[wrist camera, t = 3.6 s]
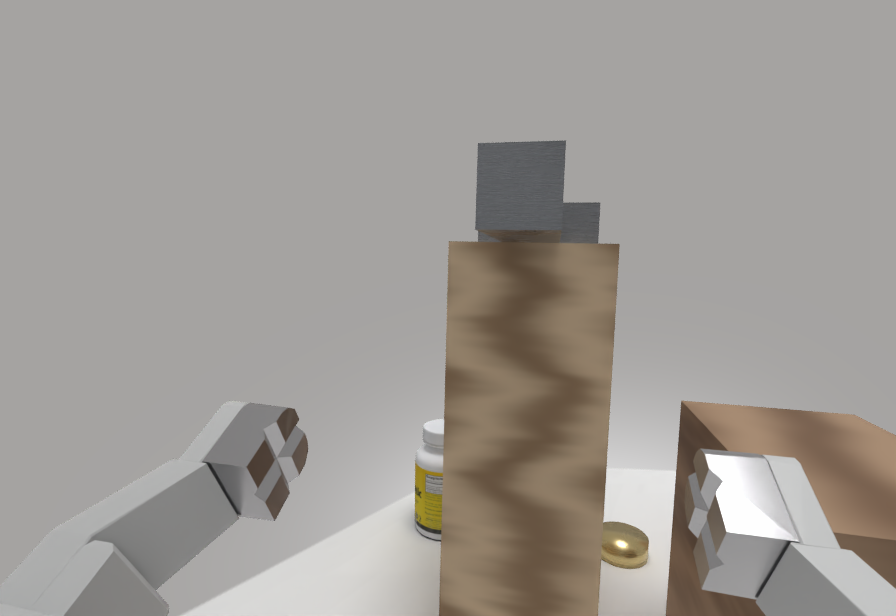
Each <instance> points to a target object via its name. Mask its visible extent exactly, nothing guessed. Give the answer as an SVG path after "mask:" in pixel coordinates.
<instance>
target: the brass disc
mask: <svg viewBox="0 0 896 616" xmlns="http://www.w3.org/2000/svg"><path fill="white" fill-rule="evenodd" d="M648 544H649V540H648V537H647V536H646V535H645V534H644V533H643V532H642V531H641V530H639V529H638V528H636V527H634V526H631V525H628V524H625V523H620V522H604V523H603V534H602V551H601V559H602V560H603V561H605V562H607V563H609V564H611V565H613V566H616V567H620V568H626V569H635V568H640V567H642V566H644V565H645V564H646V563H647V559H648Z"/></svg>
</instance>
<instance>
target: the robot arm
mask: <svg viewBox="0 0 896 616" xmlns="http://www.w3.org/2000/svg"><path fill="white" fill-rule="evenodd" d="M298 421H299V418H298V416H297V413H296V411H295V409H292V408H285V407H278V406H271V405H263V404H254V403H246V402H237V401H229V402H227V403H225V404H223V405H222V406H221V407H220V409H219V410H218V411H217V412H216V414H215V415H214V416H213V417H212V419H211V420H210V421H209V423H208V424H207V425H206V426H205V427H204V429H203V430H202V431H201V432H200V434H199V435H198V436H197V438H196V439H195V440H194V441H193V442H192V444H191V445H190V446H189V448H188V449H187V450H186V451H185V452H184V454H183V455H182V456H181V457H180V459H172V460H170V461H168V462H166V463H165V464H163V465H161V466H160V467H158V468H156V469H154V470H153V471H151V472H149V473H148V474H146V475H144V476H143V477H141V478H139V479H138V480H136V481H134V482H132V483H131V484H129V485H127V486H126V487H124V488H122V489H120V490H119V491H117V492H115V493H114V494H112V495H110V496H108V497H107V498H105V499H103V500H102V501H100V502H98V503H97V504H95V505H93V506H91V507H90V508H88V509H86V510H85V511H83V512H81V513H79V514H78V515H76V516H75V517H73V518H71V519H69V520H68V521H66V522H64V523H63V524H61V525H59V526H57V527H56V528H54V529H52V530H51V531H50V532H49V533H48V535H47V536H46V537H45V538H44V539H43V540H42V541H41V542H40V543H39V544H38V545H37V547H36V548H35V549H34V550H33V551H32V552H31V553H30V554H29V555H28V556H27V557H26V558H25V559H24V560H23V562H22V563H21V564H20V565H19V566H18V567H17V568H16V569H15V570H14V571H13V572H12V573H11V575H10V576H9V577H8V578H7V579H6V580H5V581H4V582H3V583H2V584H1V585H0V616H167V615H168V613H169V605H168V604H167V602H166V601H164V599H163V598H162V597H161V596H160V595H159V594H158V593H157V591H156V590H157V589H158V588H159V587H160V586H161V585H162V584H164V583H165V582H166V581H167V580H168V579H169V578H171V577H172V576H173V575H174V574H175V573H176V572H177V571H179V570H180V569H181V568H182V567H183V566H185V565H186V564H187V563H188V562H189V561H190V560H192V559H193V558H194V557H195V556H196V555H197V554H199V553H200V552H201V551H202V550H203V549H204V548H206V547H207V546H208V545H209V544H210V543H211V542H212V541H214V540H215V539H216V538H217V537H218V536H220V535H221V534H222V533H223V532H224V531H225V530H227V529H228V528H229V527H230V526H231V525H232V524H234V523H235V522H236V521H237V520H238V519H239V517H238V516H240V517H247V518H256V519H263V520H271V521H275V519H276V518H277V516H278V514H279V512H280V510H281V508H282V506H283V504H284V503H285V501H286V499H287V497H288V495H289V493H290V492H289V486H288V483H289V482H291V481H292V480H293V479H295V478H296V477H298V476H299V475H300V473H301V471H302V469H303V467H304V465H305V462H306V458H307V453H308V443H307V438H306V436H305V433H304V432H303V431H302V430H300V429H299V428H298V427H297V426H296V424H297V422H298ZM693 463H694V467H695V473H693V474H692V475H690V476H688V479H687V483H686V486H685V499H684V504H685V514H686V519H687V524H688V528H689V529H690V530H691V531H692V533H693V534H694V535H695V536H696V537H697V538H698V540H697V543H696V545H695V548H694V551H693V553H694V558H695V562H696V567H697V571H698V576H699V580H700V585H701V589H702V590H707V591H713V592H718V593H723V594H729V595H734V596H740V597H745V598H750V599H756V604H757V605H758V606H759V607H760V609H761V610H762V611H763V613H764V614H765V615H766V616H896V589H895V588H894V587H893V586H892V585H891V584H890V583H888V582H887V581H886V580H885V579H884V578H883V577H882V576H880V575H879V574H878V573H877V572H876V571H875V570H874V569H872V568H871V567H870V566H869V565H868V564H867V563H865V562H864V561H863V560H862V559H861V558H860V557H859V556H857V555H856V554H855V553H854V552H853V551H851V550H845V549H841V548H840V546H839V544H838V542H837V540H836V537H835V535H834V533H833V531H832V529H831V527H830V525H829V523H828V521H827V518H826V516H825V514H824V512H823V510H822V508H821V506H820V504H819V502H818V500H817V497H816V495H815V493H814V491H813V489H812V487H811V485H810V483H809V481H808V478H807V476H806V474H805V472H804V470H803V468H802V466H801V464H800V463H799V462H798V461H797V460H796V459H795V458H791V457H781V456H771V455H759V454H756V453H745V452H733V451H722V450H711V449H699V450H698V451H697V452H696V454H695V457H694V460H693Z"/></svg>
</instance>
